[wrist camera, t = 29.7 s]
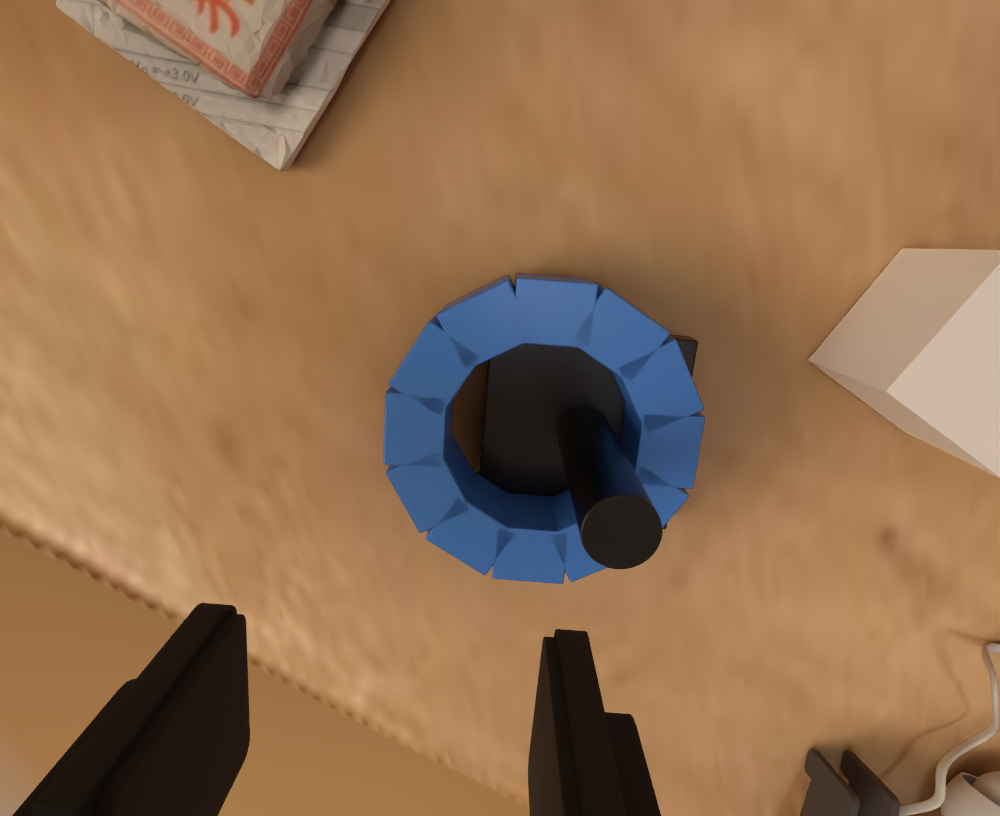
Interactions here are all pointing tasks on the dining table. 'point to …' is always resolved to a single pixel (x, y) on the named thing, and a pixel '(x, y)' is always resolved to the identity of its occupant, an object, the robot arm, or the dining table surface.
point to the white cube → (928, 350)
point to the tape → (517, 517)
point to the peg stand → (570, 445)
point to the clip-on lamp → (875, 809)
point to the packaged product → (240, 58)
